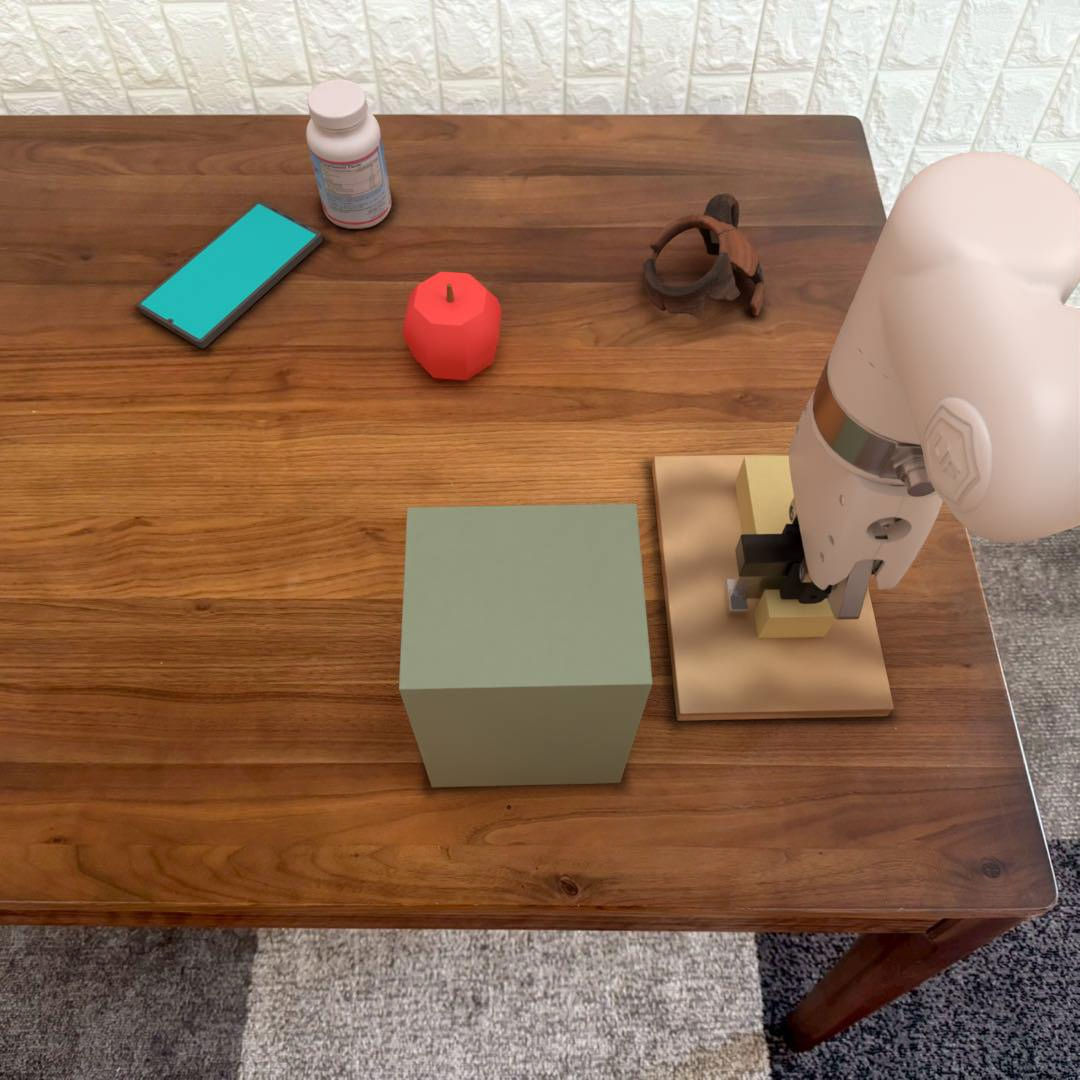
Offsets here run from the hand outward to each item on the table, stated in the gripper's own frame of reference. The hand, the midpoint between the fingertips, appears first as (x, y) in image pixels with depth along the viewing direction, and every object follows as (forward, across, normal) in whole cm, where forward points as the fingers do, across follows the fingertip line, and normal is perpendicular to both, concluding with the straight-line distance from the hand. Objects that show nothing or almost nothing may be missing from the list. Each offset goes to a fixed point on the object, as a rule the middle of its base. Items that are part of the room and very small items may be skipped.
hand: (800, 575), depth 62 cm
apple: (+6, +23, +23) cm, 33 cm away
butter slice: (+4, -2, 0) cm, 5 cm away
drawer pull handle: (+3, 0, 0) cm, 3 cm away
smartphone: (+6, +32, +42) cm, 53 cm away
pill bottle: (+6, +40, +32) cm, 52 cm away
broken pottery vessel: (+6, +30, +2) cm, 31 cm away
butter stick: (+4, +5, 0) cm, 7 cm away
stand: (+6, -7, +18) cm, 20 cm away
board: (+6, +2, +1) cm, 6 cm away
